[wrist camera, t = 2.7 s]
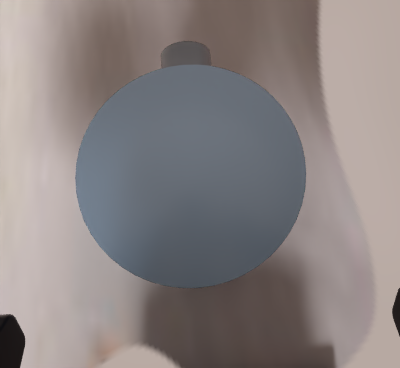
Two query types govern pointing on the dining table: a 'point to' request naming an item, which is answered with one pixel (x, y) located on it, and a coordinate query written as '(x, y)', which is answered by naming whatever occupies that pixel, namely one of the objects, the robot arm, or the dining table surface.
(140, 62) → the dining table surface
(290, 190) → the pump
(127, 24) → the dining table surface
